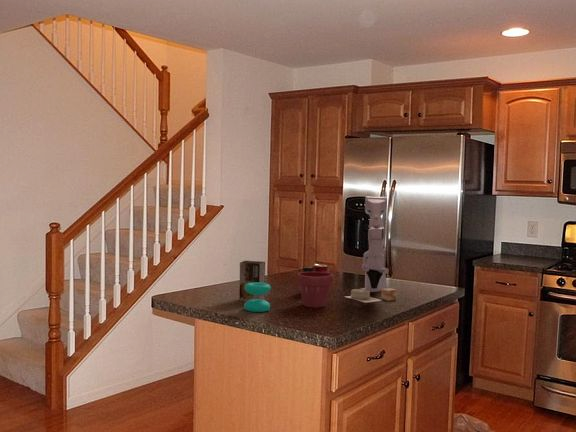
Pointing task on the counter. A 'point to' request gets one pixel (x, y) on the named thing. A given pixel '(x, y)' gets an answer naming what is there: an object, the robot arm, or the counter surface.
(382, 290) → the maple block
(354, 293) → the puck
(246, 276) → the coffee box
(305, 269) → the supplement bottle
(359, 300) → the letter
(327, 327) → the counter surface
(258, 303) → the donuts
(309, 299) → the plant pot
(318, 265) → the soda can
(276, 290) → the counter surface
